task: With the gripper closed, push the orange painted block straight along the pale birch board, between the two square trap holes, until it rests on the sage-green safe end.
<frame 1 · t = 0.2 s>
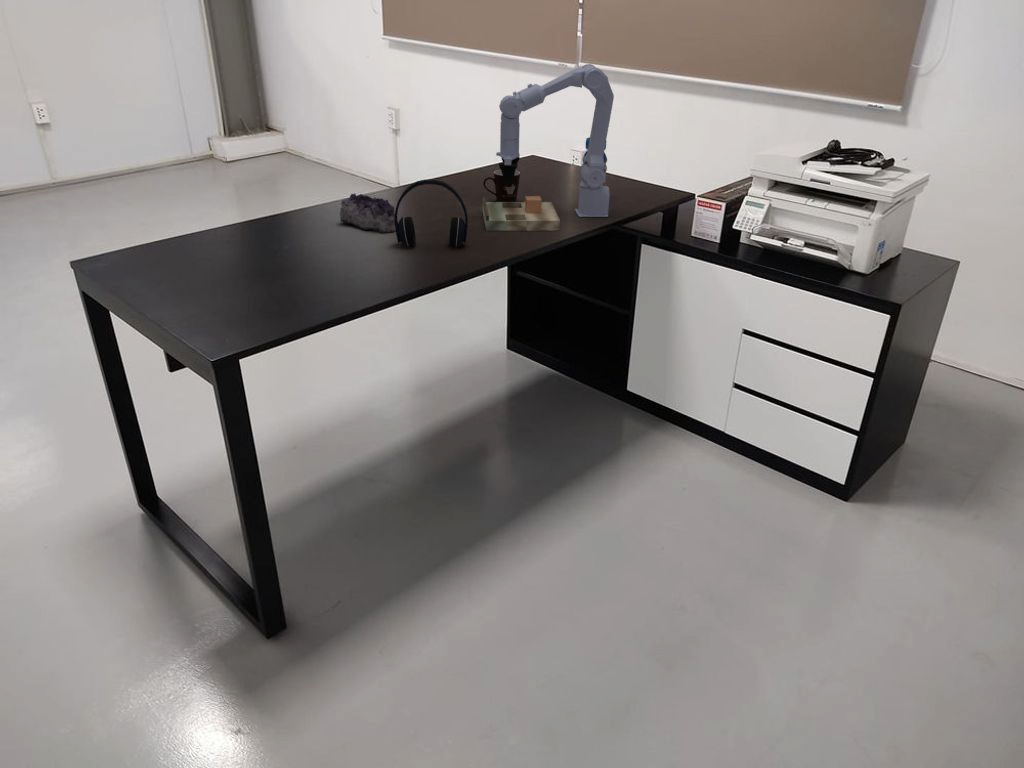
hand: (509, 183, 238), 10 cm above the table, fingers open, 7 cm apart
coffee mug: (501, 203, 255), on the table
trap board: (519, 220, 238), on the table
block: (533, 211, 237), point 3 cm above the table, touching trap board
geode: (371, 226, 231), on the table
headphones: (432, 246, 216), on the table
beverage bottle: (591, 199, 262), on the table
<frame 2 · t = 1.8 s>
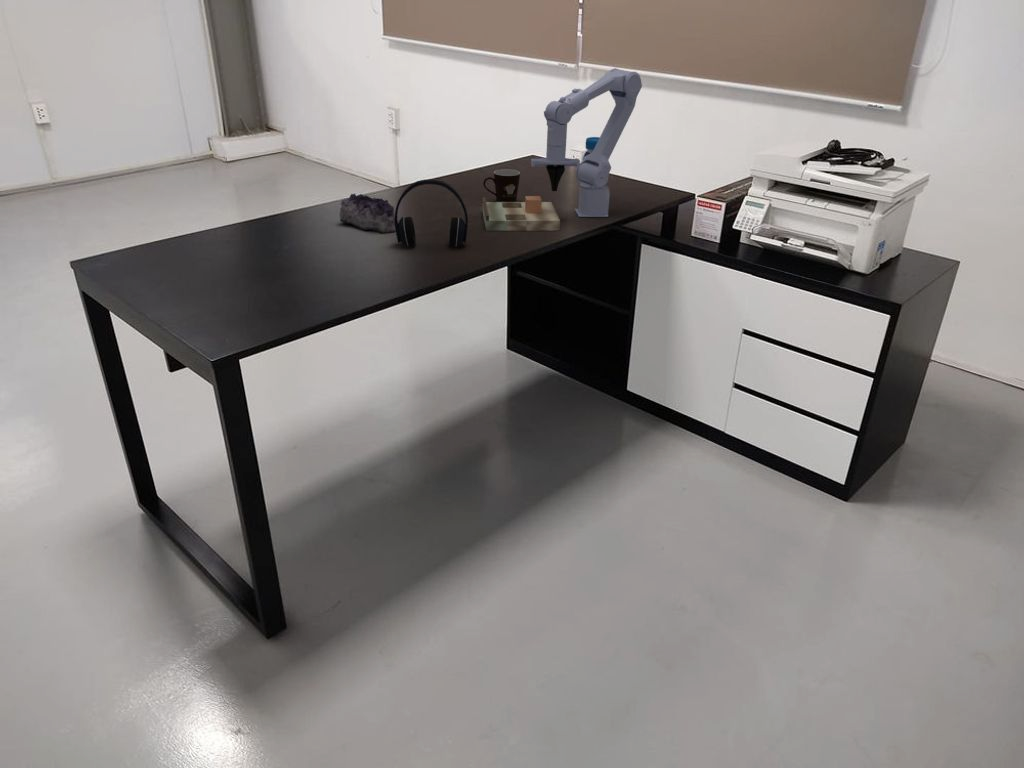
hand: (554, 190, 235), 9 cm above the table, fingers closed
nothing on the table moved.
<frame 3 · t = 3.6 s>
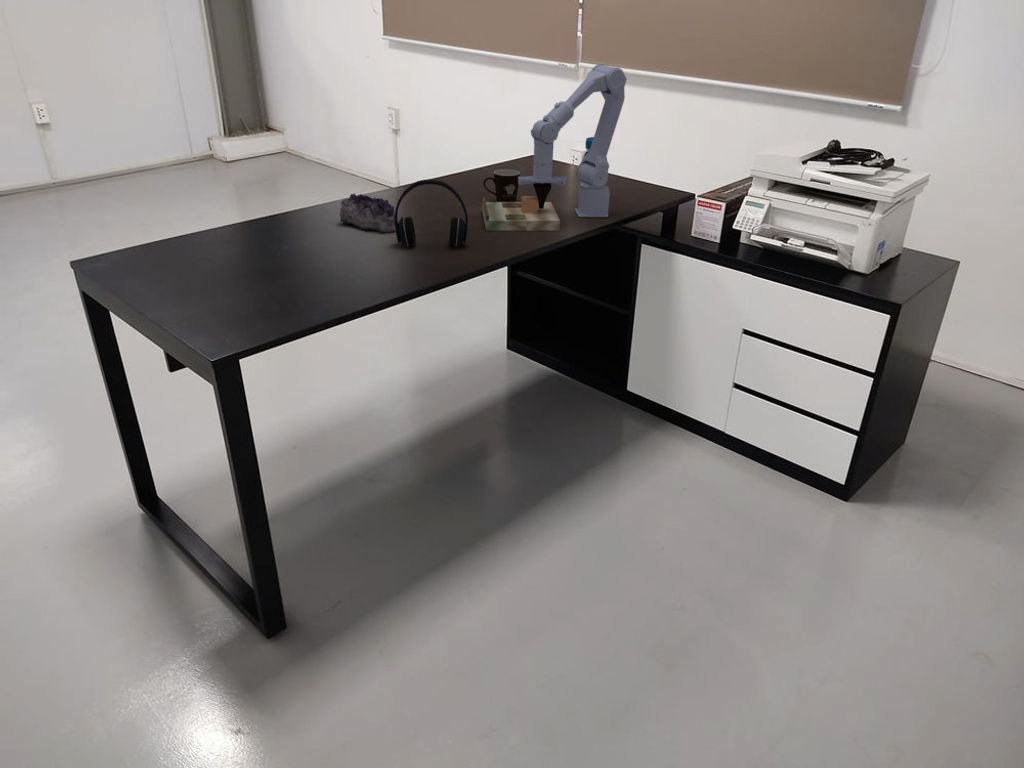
hand: (541, 207, 237), 4 cm above the table, fingers closed
block: (529, 211, 237), point 3 cm above the table, touching gripper
everything else where it was.
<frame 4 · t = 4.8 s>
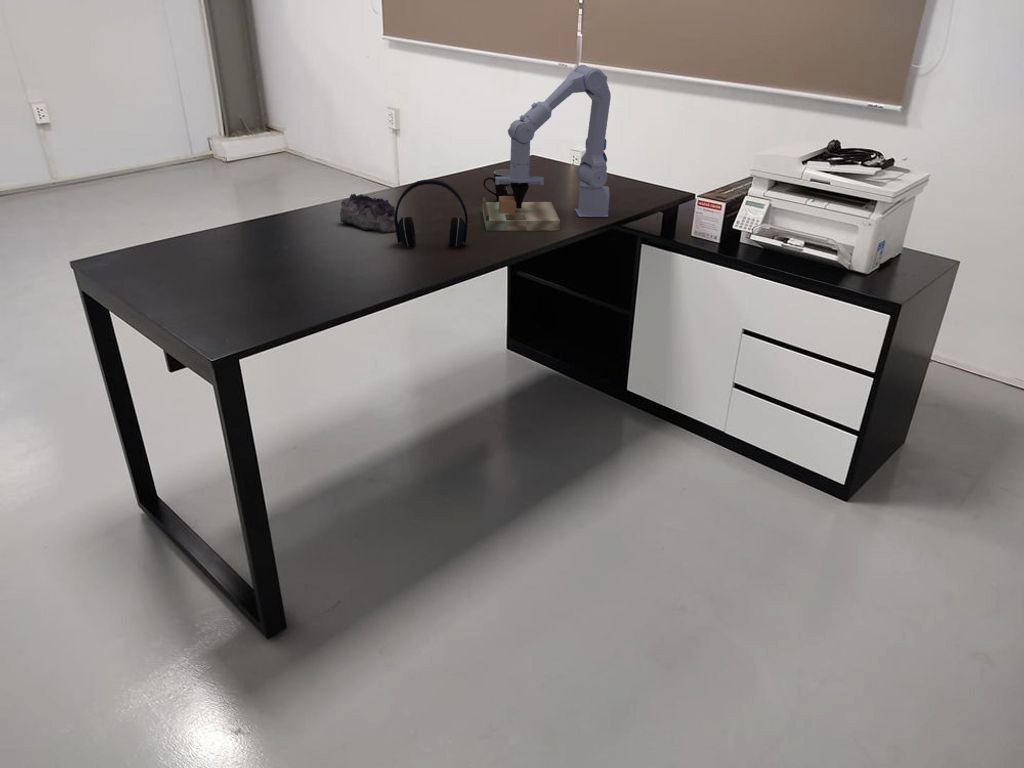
hand: (518, 207, 236), 4 cm above the table, fingers closed
block: (506, 211, 236), point 3 cm above the table, touching gripper, trap board
everything else where it was.
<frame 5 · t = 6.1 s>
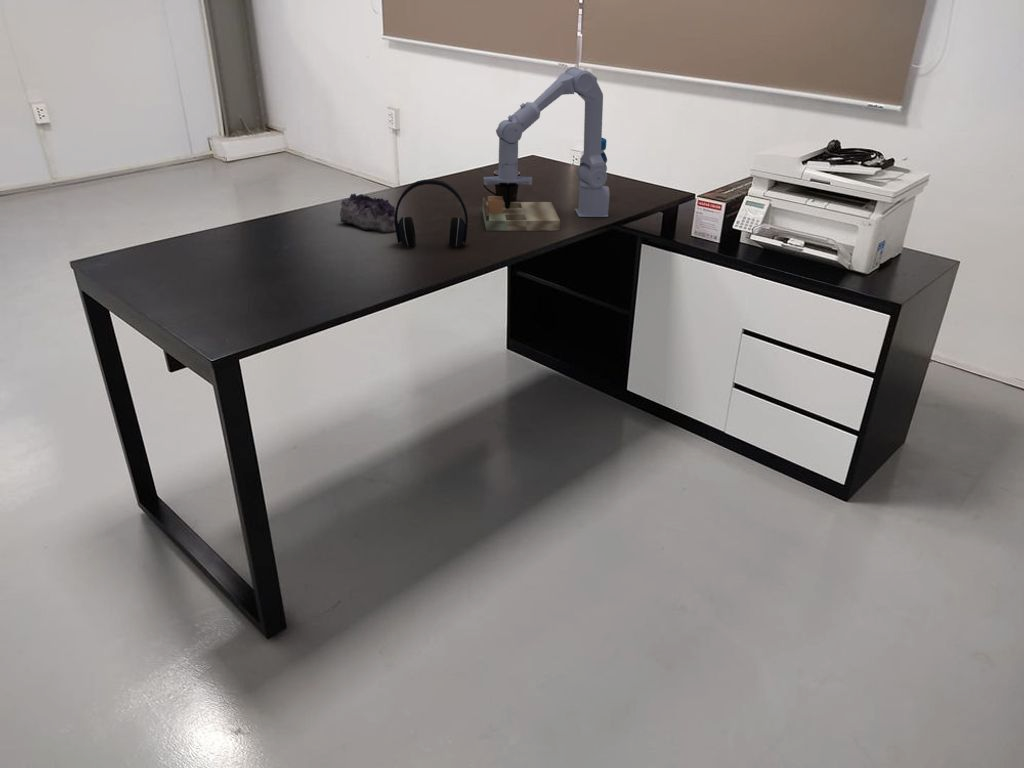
hand: (507, 207, 236), 4 cm above the table, fingers closed
block: (495, 211, 236), point 3 cm above the table, touching gripper, trap board
everything else where it was.
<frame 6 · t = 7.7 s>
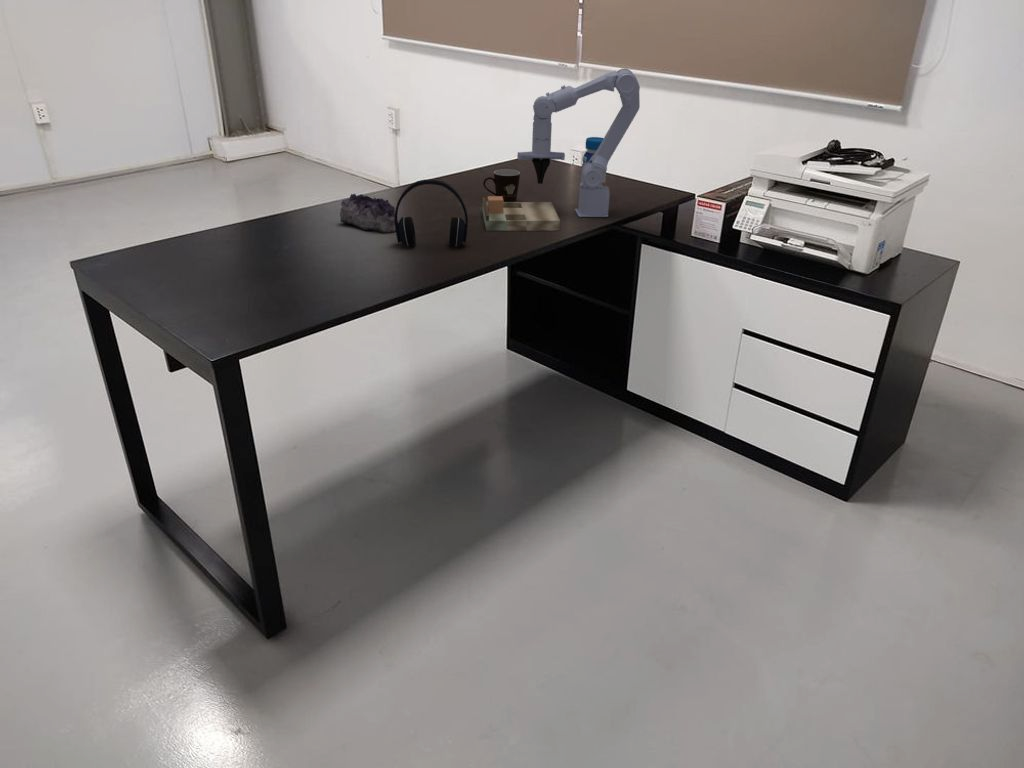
hand: (539, 182, 242), 9 cm above the table, fingers closed
block: (495, 211, 236), point 3 cm above the table, touching trap board
everything else where it was.
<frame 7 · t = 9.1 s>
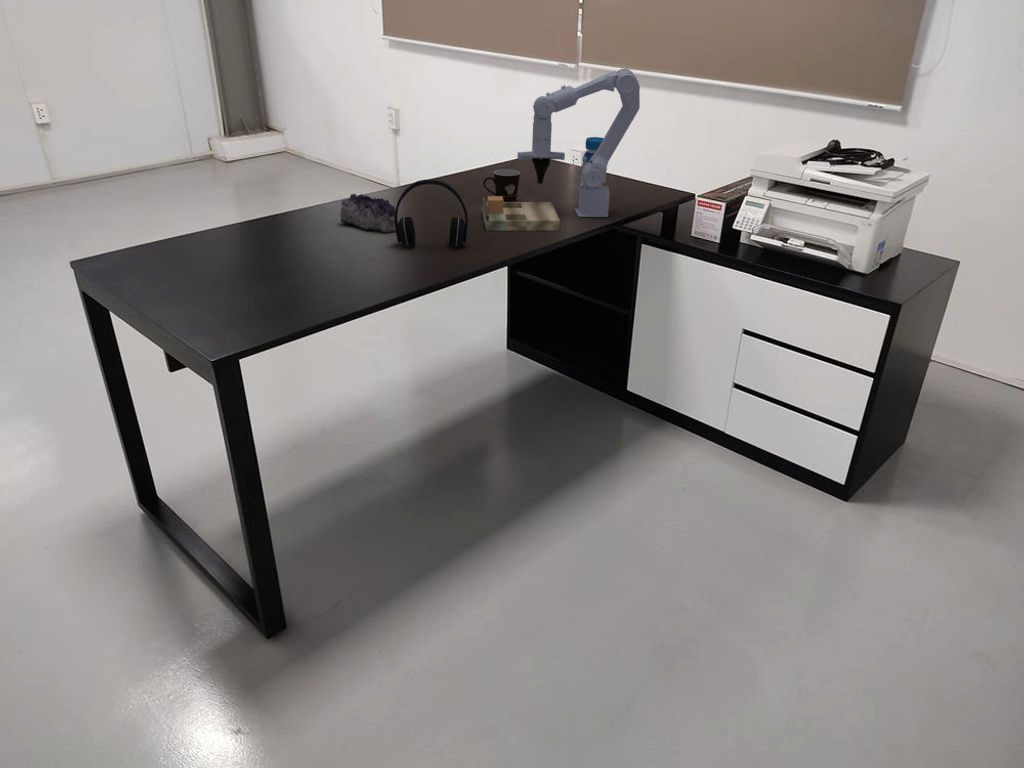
hand: (539, 182, 242), 9 cm above the table, fingers closed
nothing on the table moved.
at the end: block 0.2 cm from the target spot on the trap board, point 3.0 cm above the trap board's base; block tilted 0° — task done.
